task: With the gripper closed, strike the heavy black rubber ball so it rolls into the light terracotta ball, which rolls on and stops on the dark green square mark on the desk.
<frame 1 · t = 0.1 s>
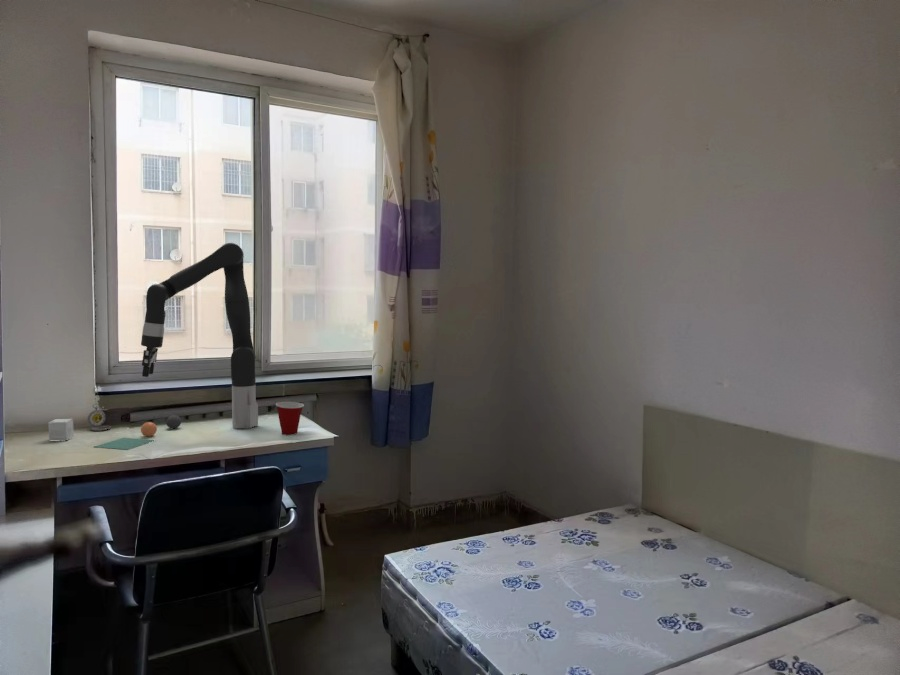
hand: (147, 375, 237), 22 cm above the table, tool pointing down, fingers open, 8 cm apart
pocket watch: (100, 429, 240), on the table
black ball: (173, 421, 243), on the table
skincare box: (61, 440, 223), on the table
green mark: (125, 443, 218), on the table
terracotta ball: (148, 429, 229), on the table
plastic cup: (290, 434, 237), on the table
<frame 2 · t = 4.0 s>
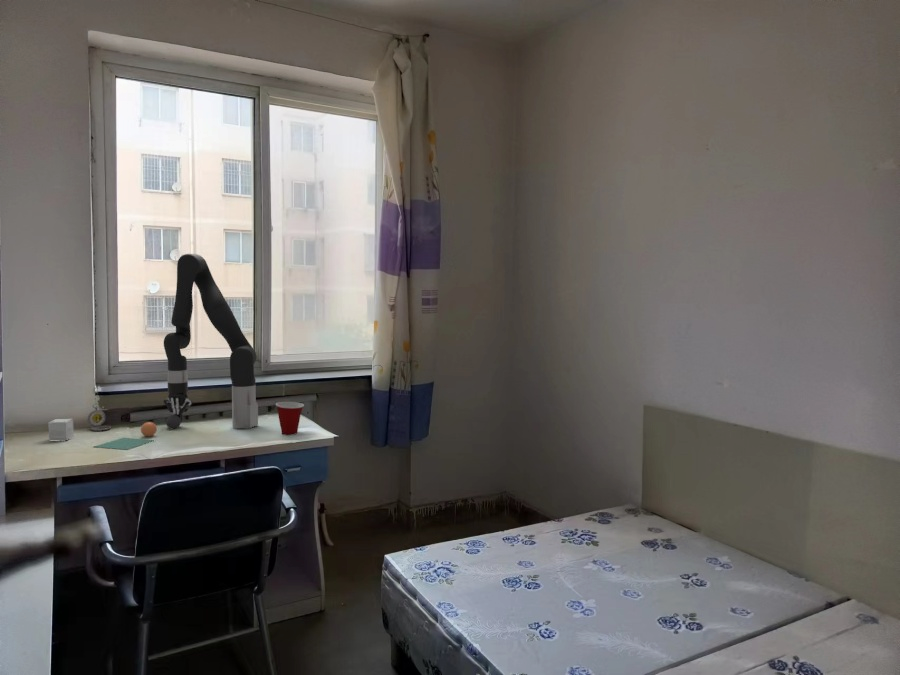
hand: (178, 422, 247), 2 cm above the table, tool pointing down, fingers closed
black ball: (173, 421, 243), on the table, touching gripper
everything else where it was.
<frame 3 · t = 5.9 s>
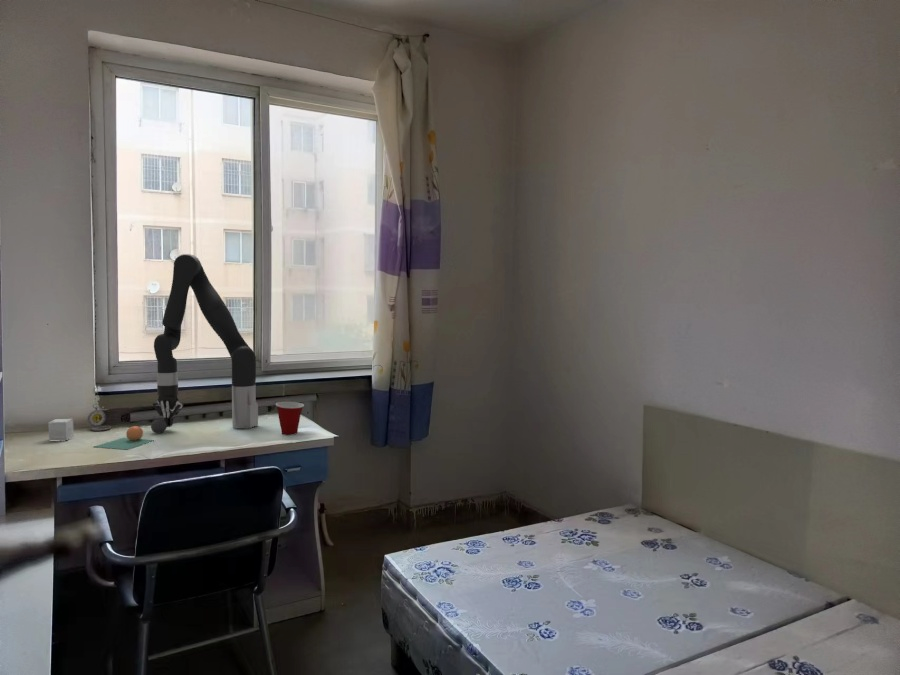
hand: (168, 426, 240), 2 cm above the table, tool pointing down, fingers closed
black ball: (158, 426, 234), on the table
terracotta ball: (134, 433, 222), on the table
everything else where it was.
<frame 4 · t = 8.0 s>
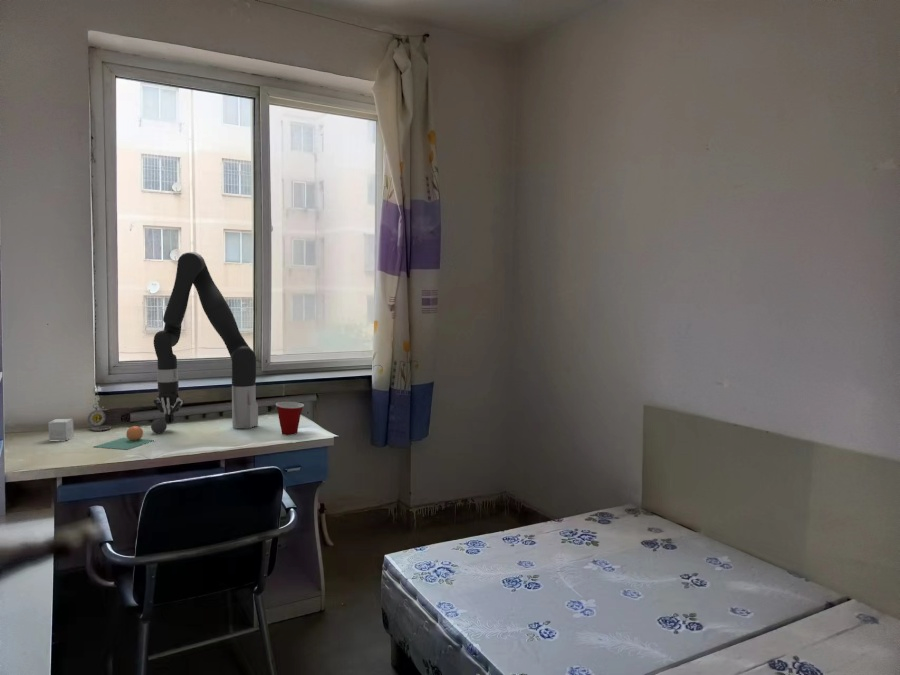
hand: (169, 423, 240), 3 cm above the table, tool pointing down, fingers closed
nothing on the table moved.
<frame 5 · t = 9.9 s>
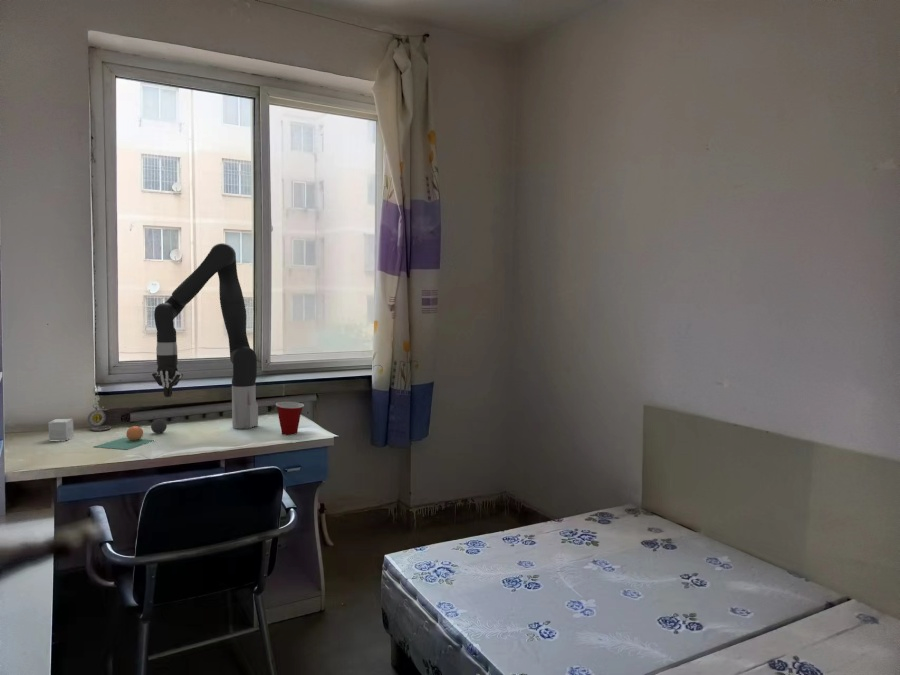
hand: (168, 396, 239), 14 cm above the table, tool pointing down, fingers closed
nothing on the table moved.
at the end: terracotta ball 4.7 cm from the green mark (horizontally); terracotta ball never touched the robot; black ball first touched terracotta ball at 4.4 s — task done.
